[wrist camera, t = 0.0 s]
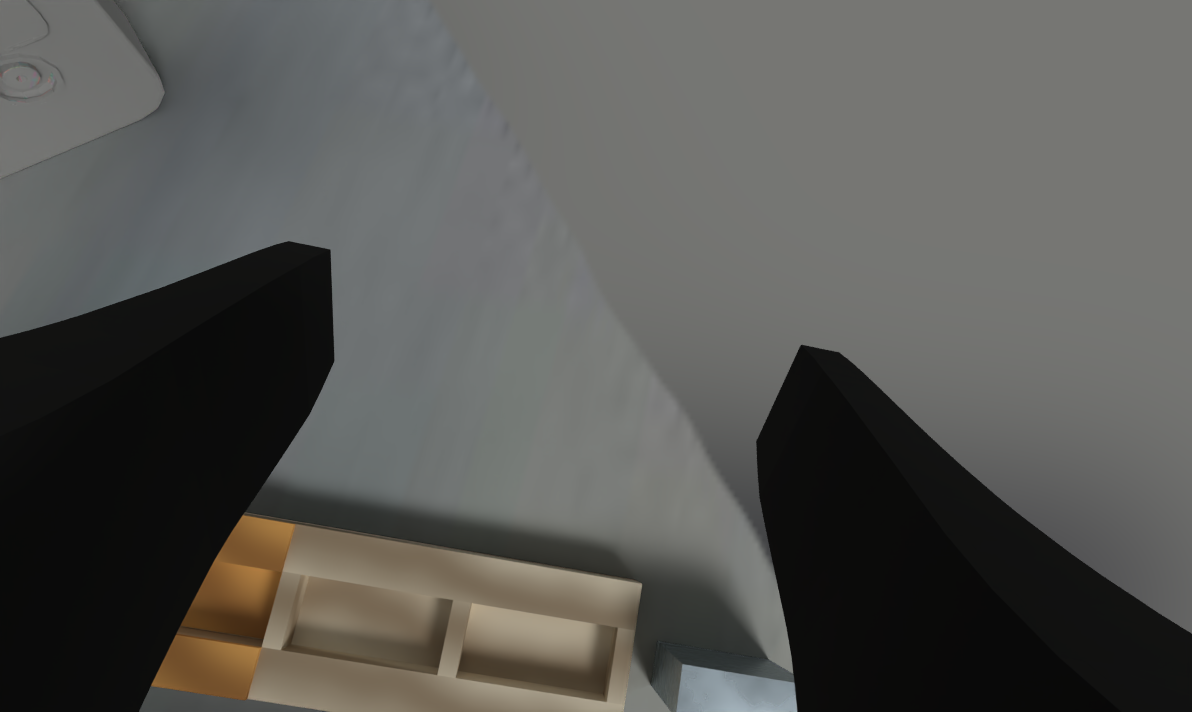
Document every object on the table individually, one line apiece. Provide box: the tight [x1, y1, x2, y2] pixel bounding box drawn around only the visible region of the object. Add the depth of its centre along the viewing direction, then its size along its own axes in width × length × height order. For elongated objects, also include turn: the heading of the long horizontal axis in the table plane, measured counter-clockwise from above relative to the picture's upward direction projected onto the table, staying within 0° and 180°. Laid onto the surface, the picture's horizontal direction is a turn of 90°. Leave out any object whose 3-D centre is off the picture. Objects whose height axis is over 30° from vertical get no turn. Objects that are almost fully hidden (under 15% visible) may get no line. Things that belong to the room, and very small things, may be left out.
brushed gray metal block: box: [651, 641, 797, 712], centre depth 37 cm, size 2×7×6 cm, turn 80°
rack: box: [151, 512, 642, 712], centre depth 37 cm, size 9×29×3 cm, turn 80°
